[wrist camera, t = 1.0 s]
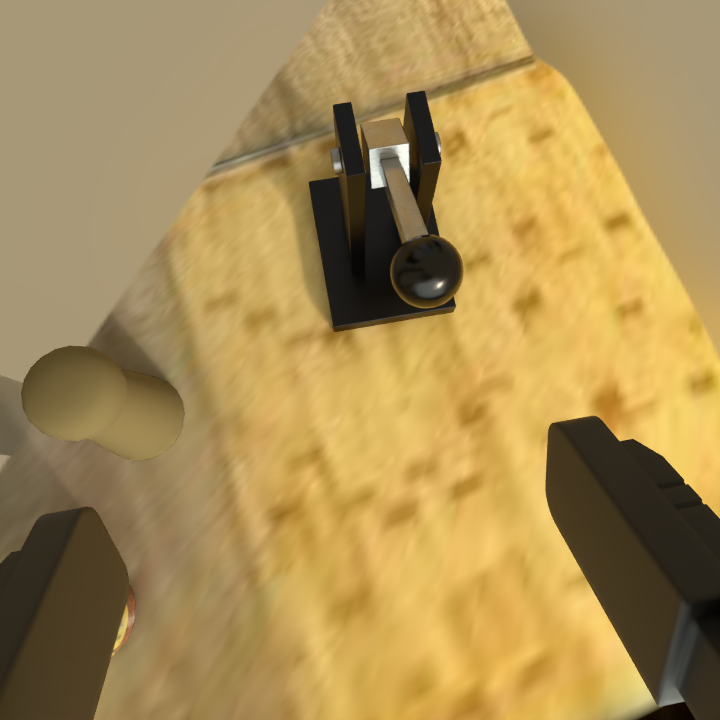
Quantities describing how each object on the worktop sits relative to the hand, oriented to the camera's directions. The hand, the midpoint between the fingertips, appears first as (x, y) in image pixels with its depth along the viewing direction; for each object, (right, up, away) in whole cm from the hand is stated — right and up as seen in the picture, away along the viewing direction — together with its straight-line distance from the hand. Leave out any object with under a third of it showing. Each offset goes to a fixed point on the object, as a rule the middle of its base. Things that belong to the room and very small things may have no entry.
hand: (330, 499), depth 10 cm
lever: (+3, +9, +19) cm, 21 cm away
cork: (-15, -2, +29) cm, 33 cm away
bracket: (+2, +11, +32) cm, 34 cm away
